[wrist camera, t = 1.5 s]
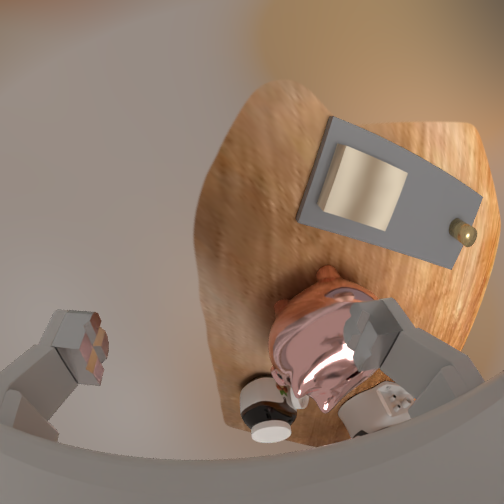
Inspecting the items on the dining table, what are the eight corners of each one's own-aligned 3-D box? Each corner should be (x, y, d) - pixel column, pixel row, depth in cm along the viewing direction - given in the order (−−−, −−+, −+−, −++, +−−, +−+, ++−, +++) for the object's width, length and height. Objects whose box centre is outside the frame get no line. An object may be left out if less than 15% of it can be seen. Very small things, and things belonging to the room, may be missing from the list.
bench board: (477, 194, 36) (482, 196, 34) (446, 265, 41) (451, 269, 40) (329, 116, 31) (333, 116, 29) (295, 218, 37) (297, 222, 35)
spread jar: (233, 386, 51) (234, 436, 40) (272, 355, 47) (280, 409, 37) (278, 404, 55) (284, 449, 44) (317, 377, 51) (330, 425, 41)
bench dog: (464, 221, 36) (479, 230, 33) (457, 238, 37) (471, 249, 34) (453, 215, 36) (469, 225, 32) (446, 233, 37) (460, 244, 33)
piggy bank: (238, 313, 43) (241, 399, 29) (333, 238, 38) (382, 308, 24) (298, 359, 48) (315, 434, 34) (381, 300, 44) (425, 369, 29)
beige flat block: (396, 168, 32) (408, 173, 30) (375, 222, 36) (385, 231, 33) (337, 143, 31) (346, 145, 28) (316, 203, 34) (323, 211, 32)
